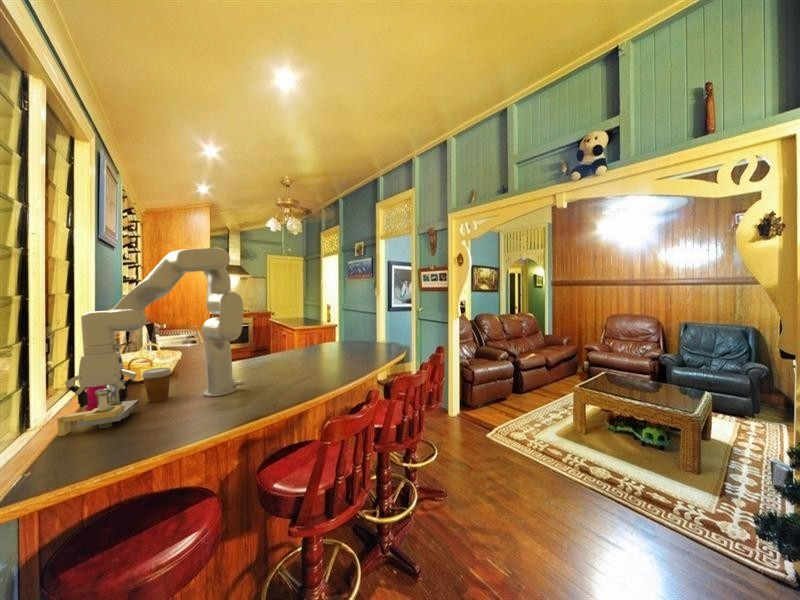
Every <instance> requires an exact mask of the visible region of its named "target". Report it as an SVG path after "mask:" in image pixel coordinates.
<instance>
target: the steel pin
mask: <svg viewBox="0 0 800 600" xmlns="http://www.w3.org/2000/svg"><path fill="white" fill-rule="evenodd" d="M111 392H112V390H111V388H107V387H106V389H100V390H97V391H95V395H97V401H98V413H101V412H108V411H111V400H110V393H111ZM98 426H99V427H98V428H100V429H99V430H102V429H101V428H106V429H108V428H107V427H109V428H111V427H112V426H113V422H109V423H103V424H98ZM110 426H111V427H110Z"/></svg>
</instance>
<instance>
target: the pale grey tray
mask: <svg viewBox="0 0 800 600" xmlns="http://www.w3.org/2000/svg"><path fill="white" fill-rule="evenodd" d="M106 388H111V390H112V392H111V393H110V400H111V406H116V405H123V404H124V409H123V410H122V411H121V412H119V413H118V414H117V415H116V416H115V417H109V418H102V419H96V420H89V421H83V419H82V420H78V421H77V422H76V423H77V426H76V427H77V428H83V427H88V426H96V425H99V424H103V423H109V422H112V423H114V422H120V421H122V420H124V419H126V417H127V418H128V417H130V412H131V411H132V410H134V409H135V408H136V407H137V406H138V405H140V401H139V399H135V400H126V401H125V400H124V401H123V402H120V401H119V390H120V387H118V386H117V385H116V384H113V385H106ZM121 419H122V420H121Z"/></svg>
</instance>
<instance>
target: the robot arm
mask: <svg viewBox="0 0 800 600" xmlns="http://www.w3.org/2000/svg"><path fill="white" fill-rule="evenodd" d="M230 261H231V257H230V254H229V252H228V251H227V250H226V249H224V248H221V247H206V248H205V247H204V248H203V247H202V248H188V249H187V248H186V249H185V248H184V249H179V250H173V251H170V252H169V253H167V254H166V255H165V256H164V257H163V258H162V259H161V261H159V262H158V264H156V266H155V267H154V268H153V269H152V270H151V272H149V273H148V274H147V276H146V277H145V278H144V279H143V280H142V281H141V282H139V283H137V285H136V286H135V287H134V288H132V289H131V290H130V291H129V292H128V293H126V294H125V295H123V297H122V298H121V299H120V300H119V301H118V302H117V304H116V305H115V306H114V307H113V308H112V309H111V310H110V311H109V310H99V311H98V310H96V311H95V310H94V311H87V312H84V313H82V315H81V318H80V319H81V335H82V348H83V349H82V351H83V355H82V356H80V360H79V367H78V374H77V375H75V376H74V377H72V378H69V379H68V380H66V381H64V384H65V385H66V386H67V388H69V390H70V391H71V392H73V394H75V395H76V396H77V405H79V408H84V407H86V406H87V404H88V396H87V392H86V390H87V388H88V387H97V386H105V387H106V386H107V385H113V384H116V385H117V386H118V387H120V390H119V401H120V402H125V400H126V399H127V398H128V387H129V386H130V385H131V384H132V383H133V382H134V380H135V379H136V377H137V375H138V374H137V373H136V372H135V371H131V370H127V369H125V366H124V361H123V358H122V355H121V352H120V351H118V350H120V349H122V347H123V346H122V344H118V343H117V342H116V332H136V331H138V330H140V329H143V327H145V326H146V324H147V321H148V318H147V314H145V313H144V312H143V311H144V310H145V309H146V308H147V307H148V306H150V305H151V304H152V303H154V302H156V301H157V300H160V299H162V298H165V297H166V296H167V295H169V293H171V291H172V290H173V289H174V288H175V286H176V285H177V284H178V282H180V281H181V279H182V278H183V277H184V276H185V274H186V273H195V272H202V273H203V274H204V275H205V277H206V281H207V282H206V283H207V289H206V290H207V291H206V293H207V294H206V308H207V309H206V310H207V311H208V312H210V313H211V314H213V315H219V317H211V318H209V319H207V320H205V321H204V323H203V324H202V326H201V336H202V340H203V345H204V353H205V358H204V359H205V373H206V389H205V390H204V391H202V395H203V397H209V398H211V397H221V396H225V395H230V394H232V393H234V392H236V391H237V390H238V386H239V387H241V386H245V380H242V379H240V380H237V379H236V380H235V377H234V376H233V363H232V362H233V361H232V358H233V357H232V347H231V344H230V342H232V341H235V340H237V339H238V338H239V337H240V336H241V334H242V330H243V322H244V302H243V298H242V297H241V295H240V294H239V293H237V292H235V291H231V290H232V289H231V285H232V284H231V283H232V282H231V277H230V273H229V272H228V270H227V269H226V267H227V266H228V265H229V264H230ZM126 376H127V377H128V379H127V380H126V381H125V378H126ZM77 381H78V385H79V386H78V385H76V384H75V382H77Z"/></svg>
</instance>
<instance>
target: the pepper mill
mask: <svg viewBox="0 0 800 600" xmlns="http://www.w3.org/2000/svg"><path fill="white" fill-rule="evenodd" d="M106 388H107V386H106V385H105V386H97V387H88V388H87V389H86V390H85V392H87V396H88V404H87V405H86V406H85V412H86V411H92V410H93V409H95V408H98V401H97V395H95V391H97V390H100V389H106Z"/></svg>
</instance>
